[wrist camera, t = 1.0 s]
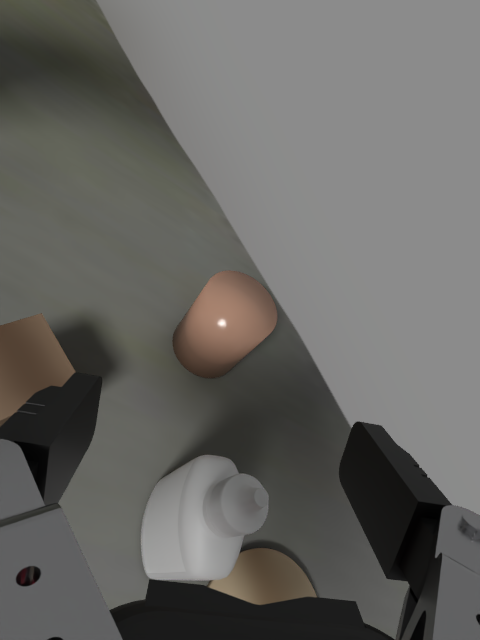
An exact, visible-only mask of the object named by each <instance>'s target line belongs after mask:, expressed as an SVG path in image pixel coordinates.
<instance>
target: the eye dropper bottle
mask: <svg viewBox="0 0 480 640" xmlns="http://www.w3.org/2000/svg"><path fill="white" fill-rule="evenodd" d="M268 502H269V495H268V493H267V491H266V490H265V489H264V487H263V486H262V484H261V483H260V482H259V481H258V480H257V479H256V478H254V477H252V475H251V476H250V475H248V474H245V473H244V474H242V473H241V474H240V473H238V470H237V468H236V466H235V464H234V463H233V462H232V460H230V459H228V458H226V457H221V456H215V455H202V456H198V457H196V458H195V459H193V460H191V461H189V462H188V463H186V464H184V465H183V466H181V467H179V468H178V469H176V470H174V471H173V472H171V473H170V474H168V475H166V476H165V477H163V478H162V479H161V480H159V481H158V482H157V484H156V486H155V487H154V489H153V491H152V493H151V495H150V497H149V500H148V502H147V505H146V508H145V512H144V516H143V521H142V528H141V553H142V560H143V566H144V569H145V572H146V574H147V575H148V577H149V578H152V579H155V580H220V579H223V578H226V577H227V576H228V575H229V574H230V573H231V571H232V570H233V568H234V566H235V563H236V561H237V558H238V556H239V553H240V550H241V546H242V543H243V538H244V535H248V534H252V533H254V532H256V531H258V529H260V527H262V525H263V524H264V522H265V520H266V517H267V514H268V508H269V507H268Z"/></svg>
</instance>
